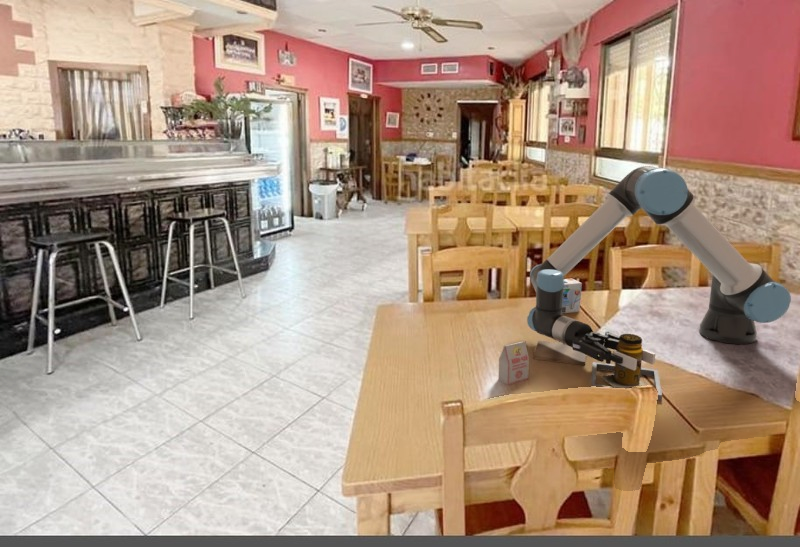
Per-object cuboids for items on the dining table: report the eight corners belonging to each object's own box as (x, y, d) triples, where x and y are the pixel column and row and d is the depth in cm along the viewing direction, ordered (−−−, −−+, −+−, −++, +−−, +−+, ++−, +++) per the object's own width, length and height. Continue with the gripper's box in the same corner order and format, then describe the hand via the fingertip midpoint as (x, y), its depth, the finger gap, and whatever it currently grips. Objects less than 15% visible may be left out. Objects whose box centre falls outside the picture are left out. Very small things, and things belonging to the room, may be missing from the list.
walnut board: (586, 349, 159) (587, 346, 158) (584, 365, 148) (585, 361, 148) (538, 343, 164) (538, 340, 163) (532, 358, 153) (533, 355, 153)
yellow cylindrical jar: (647, 385, 134) (651, 340, 131) (616, 389, 132) (621, 344, 129) (628, 373, 141) (632, 330, 138) (599, 377, 139) (603, 333, 136)
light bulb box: (553, 314, 189) (555, 285, 187) (544, 308, 196) (545, 280, 193) (580, 311, 192) (582, 282, 189) (570, 306, 198) (572, 277, 196)
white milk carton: (498, 379, 141) (499, 343, 138) (518, 374, 144) (520, 338, 141) (507, 385, 137) (508, 348, 135) (528, 379, 140) (529, 343, 138)
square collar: (657, 375, 141) (657, 369, 141) (661, 401, 128) (662, 395, 127) (592, 366, 147) (592, 361, 146) (590, 391, 133) (590, 385, 133)
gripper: (596, 339, 156) (668, 367, 136) (546, 352, 147) (616, 385, 127) (597, 314, 154) (671, 339, 134) (548, 326, 145) (619, 355, 126)
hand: (644, 361), depth 131 cm, fingers closed on yellow cylindrical jar, 6 cm apart
